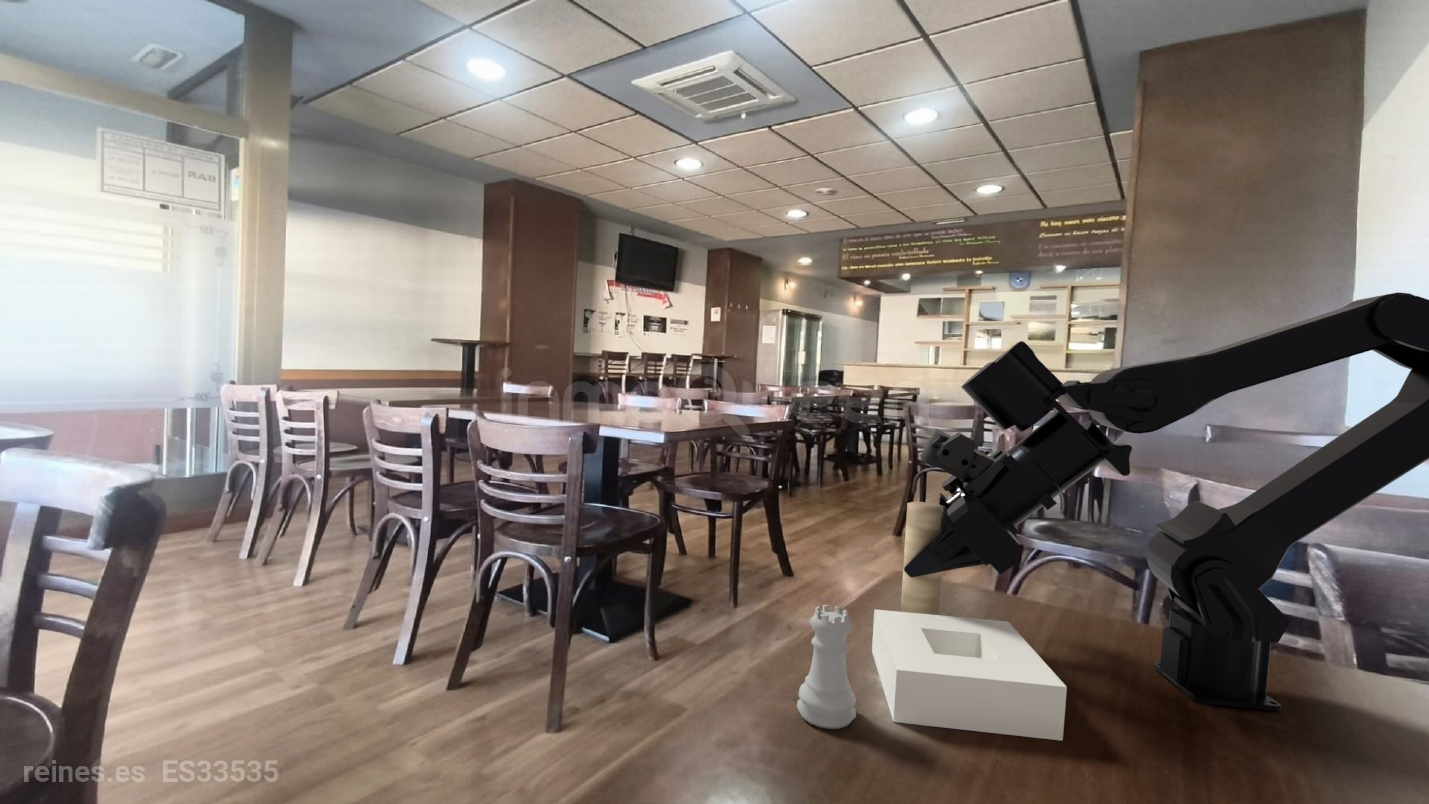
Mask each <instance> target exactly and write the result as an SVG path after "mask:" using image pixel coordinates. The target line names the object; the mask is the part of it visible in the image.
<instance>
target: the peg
mask: <svg viewBox="0 0 1429 804" xmlns="http://www.w3.org/2000/svg"><path fill="white" fill-rule="evenodd" d="M906 505H907V506H906V521H905V535H904V551H903V553H904V554H903V566H902V567H903V570H902V580H901V581H902V584H901V597H900V598H901V600H900V612H909V613H920V614H931V615H940V603H941V599H940V598H941V586H942V572H943V571H942V572H937V573H932V574H928V575H923V576H918V577H913V578H911V577H909V575H908V574H907V573H906V572H905V571H904V567H905V566H906V565H907V564H908V563H909V561H910V560H911V559H912V558H913V557H914V556H915V555H916V554H917V553H918V551H919V550H920V549H921V548H922V547H923V546H924V545H925V544H926V543H927V542H928V541H929V539H930V538H931V537H932V536H933V535H934V534H935V533H936V532H937V531H938V530H939V528H940V518H941V507H942V505H939V503H933V502H928V501H927V502H925V501H911V502H907V504H906ZM943 507H944V506H943ZM944 508H945V509H946V507H944Z"/></svg>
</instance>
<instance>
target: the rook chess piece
mask: <svg viewBox="0 0 1429 804" xmlns="http://www.w3.org/2000/svg"><path fill="white" fill-rule="evenodd" d="M842 608H843V607H840V606H838V605H835V606H834V610H833V611H832V610H830V609H831V608H830V604H822V607H821V606H819V605H818V606H816V607H815V609H814V614H813V616H812V617H811V618H810V619H809V625H810V627H811V628H812V629H813V631H814V636H813V637H812V638H811V644H812V646H813V653H812V660H811V665H810V669H809V671H808V675H806V676H805V678H804V682H803V683H802V684H801V685H800V687H799V690H798V694H797V696H798V697H799V699H798V700H797V702H796V703H797V704H796V708H797V710H798V712H799V713H800V715H801V717H802V718H803V720H805V722H808V723H809V724H810V725H813V726H815V727H817V728H821V729H826V730H840V729H843V728H845V727H848V726H849V725H850V723H851V722H852V721H853V720H854V719H855V718H856V717H857V712H856V709H855V706H856V705H857V703H856V701H857V700H856V696H855V694H856V693H854V691H853V690H852V688H851V683H850V682H849V680H848V679H849V678H848V675H847V664H846V663H847V662H846V655H847V654H846V651H847V650H848V649H849V648H850V646H849V645H850V644H849V643H848V641H847V636H848V635H849V634H850V632H852V631H853V629H854V625H853V623H852V621H851V620H850V617H849V616H850V615H849V614H850V613H849V610H847V609H843V610H842Z"/></svg>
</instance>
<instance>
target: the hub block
mask: <svg viewBox="0 0 1429 804" xmlns="http://www.w3.org/2000/svg"><path fill="white" fill-rule="evenodd" d="M872 627H873V628H872V640H871V641H872V642H871V643H872V644H871V652H872V657H873V660H874V663H875V666H876V670H877V672H878V673H877V674H878V676H879V679H880V682H881V683H880V684H881V685H882V689H883V692H884V694H885V699H886V702H887V705H888V708H889V712H890V715H891V718H892V722H893V723H901V724H908V725H909V724H910V725H917V726H927V727H936V728H946V729H955V730H961V731H962V730H963V731H974V732H981V733H991V734H998V735H1009V736H1016V737H1017V736H1019V737H1026V738H1036V739H1044V740H1046V739H1047V740H1054V741H1064V740H1063V739H1064V728H1065V717H1066V716H1065V715H1066V703H1067V689H1068V688H1067V685H1066V684H1065V683H1064V682H1063V681H1062V680H1061V679H1060V678H1059V676H1058V675H1057V674H1056V673H1055V672H1054V670H1052V669H1051V667H1049V665H1048V664H1047V663H1046V662H1045V661H1044V660H1043V659H1042V658H1041V656H1040V655H1039V654H1038V653H1037V652H1036V651H1035V649H1033V647H1032V646H1031V645H1030V644H1029V643H1028V642H1027V640H1026V639H1024V638H1023V637H1022V635H1021V634H1020V633H1019V632H1018V631H1017V629H1015V627H1014V626H1013V625H1012V624H1011V623H1010V621H1006V620H994V619H985V618H984V619H982V618H974V617H973V618H972V617H962V616H961V617H959V616H952V615H951V616H950V615H940V614H939V615H931V614H920V613H909V612H901V611H897V610H885V609H874V612H873V626H872Z"/></svg>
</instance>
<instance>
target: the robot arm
mask: <svg viewBox="0 0 1429 804" xmlns="http://www.w3.org/2000/svg"><path fill="white" fill-rule="evenodd" d="M1370 351H1373V352H1375V353H1377V354H1378V355H1379V356H1382V357H1383V358H1385V359H1388V360H1389V361H1391V362H1392V363H1395V364H1396V365H1398V366H1401V367H1402V368H1405V369H1409V370H1410V371H1409V373H1408V375H1407V377H1406V379H1405V380H1404V382H1403V384H1402V386H1401V388H1400V389H1399V392H1398V393H1397V395H1396V396H1395V397H1394V398H1393V399H1392V400H1391V401H1389V402H1388V403H1387V404H1385V405H1383V406H1382V407H1381V408H1379V409H1378V410H1375V412H1373V413H1372V414H1370V415H1368V416H1367V417H1366V418H1364V419H1363V420H1361V421H1359V422H1358V423H1357V424H1355V425H1353V426H1352V427H1351V428H1349V429H1348V430H1346V431H1345V432H1343V433H1342V434H1340V435H1339V436H1337V437H1335V438H1334V439H1332V440H1331V441H1329V442H1328V443H1327V444H1324V446H1322V447H1320V448H1318V450H1316V451H1314V452H1313V453H1310V454H1309V455H1308V456H1306V457H1305V458H1303V459H1302V460H1301V461H1299V462H1298V463H1297V464H1295V465H1293V466H1292V467H1291V468H1289V469H1287V470H1286V471H1284V472H1283V473H1281V474H1279V475H1278V476H1277V477H1275V478H1274V479H1272V480H1271V481H1269V482H1268V483H1266V484H1264V485H1263V486H1262V487H1260V488H1259V489H1257V490H1255V491H1253V492H1252V493H1251V494H1250V495H1247V497H1245V498H1244V499H1243V498H1242V500H1240V501H1238V502H1237V503H1235V504H1232V505H1229V506H1225V507H1221V508H1216V507H1214V506H1211V505H1209V504H1207V503H1204V502H1202V501H1199V500H1193V501H1192V502H1191V503H1189V504H1188V505H1186V506H1185V507H1184V508H1182V510H1181V511H1180V512H1179V513H1178V514H1176V516H1174V517H1172V518H1171V519H1168V520H1166V521H1164V522H1159V523H1157V524H1155V528H1157V529H1159V530H1160V531H1158V532H1157V533H1156V534H1154V535H1153V537H1151V539H1150V540H1149V541H1148V543H1147V546H1146V547H1147V548H1146V549H1147V551H1146V561H1147V565H1148V568H1149V570H1150V571H1151V573H1152V575H1154V577H1155V578H1157V579H1158V580H1159V581H1160V582H1162V583H1163V584H1164V585H1165V587H1166V590H1167V593H1168V598H1170V600H1171V601H1173V602H1175V603H1177V604H1178V605H1179V606H1180V608H1178V609H1174V608H1173V609H1171V608H1170V609H1169V618H1168V626H1167V625H1166V626H1164V628H1163V629H1162V640H1161V653H1160V662H1157V661H1156V662H1153V663H1154V664H1153V665H1154V666H1153V668H1154V669H1155V670H1156V671H1157V672H1158V673H1160V675H1162V676H1163V677H1164V678H1166V680H1168V681H1169V682H1171V683H1172V684H1173V685H1174V686H1176V687H1177V688H1179V689H1180V690H1181V691H1182V692H1184V694H1186V695H1187V696H1188V697H1189V698H1191V699H1192V700H1193V701H1195V702H1197V703H1201V704H1207V705H1216V706H1224V707H1225V706H1226V707H1235V708H1242V709H1243V708H1245V709H1252V710H1254V709H1256V710H1264V711H1265V710H1266V711H1274V712H1280V711H1281V710H1282V705H1281V703H1279V702H1278V701H1277V700H1275V699H1274V698H1272V697H1271V696H1269V695H1267V693H1268V691H1267V689H1268V682H1269V681H1268V680H1269V670H1270V659H1271V658H1270V657H1271V649H1272V647H1271V646H1272V644H1277V643H1279V642H1280V641H1281V639H1282V637H1283V635H1285V632H1286V631H1287V629H1288V627H1289V625H1290V624H1291V623H1290V622H1291V621H1290V619H1289V618H1288V617H1287V616H1286V615H1285V614H1284V613H1283V612H1282V611H1281V610H1280V608H1278V607H1277V606H1276V605H1275V604H1274V603H1273V602H1272V601H1271V600H1270V598H1268V597H1267V596H1266V595H1265V594H1264V593H1263V592H1262V591H1261V589H1263V587H1264V586H1266V585H1267V584H1268V582H1270V580H1272V579H1273V578H1274V576H1275V574H1276V572H1277V571H1278V569H1279V568H1280V565H1281V563H1282V561H1283V560H1284V558H1285V556H1286V554H1287V553H1288V551H1289V549H1290V548H1291V547H1292V546H1293V545H1295V544H1296V543H1298V542H1299V541H1300V540H1302V539H1304V538H1305V537H1307V536H1309V535H1310V534H1312V533H1313V532H1315V531H1317V530H1318V529H1320V528H1322V527H1323V526H1325V525H1326V524H1328V523H1330V522H1331V521H1332V520H1334V519H1336V518H1337V517H1339V516H1340V515H1342V514H1343V513H1345V512H1346V511H1348V510H1350V509H1352V508H1353V507H1355V506H1357V505H1358V504H1359V503H1361V502H1363V501H1364V500H1366V499H1368V498H1369V497H1371V496H1372V495H1374V494H1376V493H1377V492H1379V491H1380V490H1382V489H1383V488H1385V487H1386V486H1388V485H1390V484H1391V483H1393V482H1394V481H1396V480H1397V479H1400V478H1401V477H1402V476H1404V475H1406V474H1408V473H1409V472H1410V471H1413V470H1414V469H1416V468H1417V467H1418V466H1420V465H1421V464H1423V463H1425V462H1427V461H1428V460H1429V299H1427V298H1424V297H1421V296H1419V295H1414V294H1412V293H1410V292H1409V293H1407V292H1392V293H1387V294H1382V295H1376V296H1371V297H1366V298H1362V299H1361V298H1360V299H1356V300H1354V301H1352V302H1349V303H1348V304H1346V305H1345V306H1343V307H1341V308H1338V309H1334V310H1332V311H1328V312H1326V313H1323V314H1322V313H1321V314H1319V315H1316V316H1313V317H1311V318H1307V319H1304V320H1301V321H1297V322H1294V323H1291V324H1287V325H1285V326H1282V327H1278V328H1275V329H1273V330H1270V331H1267V332H1263V333H1260V334H1257V335H1253V336H1250V337H1248V338H1245V339H1242V340H1239V341H1236V342H1232V343H1229V344H1227V345H1223V346H1220V347H1217V348H1214V349H1210V350H1207V351H1204V352H1200V353H1199V354H1195V355H1188V356H1184V357H1178V358H1171V359H1164V360H1159V361H1151V362H1145V363H1138V364H1132V365H1128V366H1127V365H1126V366H1121V367H1115V368H1111V369H1107V370H1105V371H1103V372H1100V373H1098V374H1097V375H1096V376H1095V377H1094V378H1092V379H1091V381H1084V382H1081V381H1080V379H1079V380H1066V381H1065V382H1062V381H1061V380H1060V379H1059V378H1058V377H1057V375H1055V374H1053V372H1052V371H1051V370H1050V369H1049V368H1048V367H1047V366H1045V364H1044V363H1043V362H1042V361H1040V359H1039V358H1038V357H1037V356H1036V354H1035V352H1034V351H1033V349H1032V348H1031V347H1030V346H1029V345H1028V344H1027V343H1026V342H1025V341H1018V342H1016V343H1015V344H1014V345H1012V346H1011V347H1010V348H1009V349H1007V350H1006V351H1005V352H1003V353H1002V354H1001V355H999V356H998V357H997V358H996V359H994V360H993V361H990V362H987V363H986V364H985V365H984V366H982V368H980V369H979V370H977V372H975V373H974V374H973V375H972V376H971V377H969V379H967V381H965V382H964V383H963V384H962V385H961V386H960V388H961V389H962V390H963V391H964V392H965V393H966V394H967V395H968V396H969V397H970V398H971V399H972V400H973V401H974V402H975V403H976V404H977V405H978V406H979V408H981V409H982V411H983V412H984V413H986V415H987V416H988V417H989V418H990V419H991V420H992V421H993V422H994V423H995V425H997V426H998V427H999V429H1001V430H1002V431H1005V430H1008V429H1010V428H1011V427H1013V426H1015V429H1016V430H1017V431H1018V432H1019V433H1022V432H1025V431H1026V430H1028V429H1030V428H1032V427H1033V426H1035V424H1037V423H1038V422H1039V421H1041V420H1042V419H1043V418H1044V417H1046V415H1048V414H1049V413H1050V412H1051V411H1052V412H1053V413H1054V414H1053V415H1052V416H1050V417H1049V418H1048V419H1047V420H1045V421H1044V422H1042V423H1041V424H1040V425H1039V426H1038V427H1036V428H1035V429H1034V430H1033V431H1031V432H1029V434H1026V436H1025V437H1023V438H1022V439H1021V440H1020V441H1018V442H1017V443H1016V444H1015V445H1013V446H1012V447H1011V448H1009V449H1008V450H1006V449H1005V448H1004V449H1002V450H1001V449H998V450H996V451H995V452H993V453H992V454H991V455H988V454H986V453H984V452H982V451H980V450H978V449H976V448H975V447H976V446H975V444H976V443H975V440H974V438H970V437H968V436H967V435H964V434H963V433H961V432H957V433H955V434H954V435H950V434H948V433H946V432H944V431H942V430H939V429H937V428H936V429H935V430H934V432H933V433H932V435H931V437H930V439H929V440H928V441H927V443H926V445H925V447H924V449H923V451H922V452H921V454H920V460H921V461H922V462H923V463H925V464H927V465H929V466H930V467H932V468H938V469H940V470H941V471H942V470H943V471H944V472H946V473H948V474H950V475H951V476H950V477H948V478H946V480H944V481H943V482H941V487H942V489H943V490H944V491H945V492H947V491H948V493H950V495H949V496H948V497H946V496H945V495H944V494H943V493H942V492H940V493H939V494H938V504H939V505H942V507H941V518H940V528H939V530H938V531H937V532H936V533H935V534H934V535H933V536H932V537H931V538H930V539H929V541H928V542H927V543H926V544H925V545H924V546H923V547H922V548H921V549H920V550H919V551H918V553H917V554H916V555H915V556H914V557H913V558H912V559H911V560H910V561H909V563H908V564H907V565H906V566H905V567H904V571H905V572H906V573H907V574H908V575H909V577H911V578H913V577H918V576H923V575H928V574H932V573H937V572H948V571H952V570H957V569H963V568H969V567H976V566H981V565H982V566H983V565H984V566H989V565H991V566H992V568H994V570H995V571H996V572H997V573H999V574H1000V575H1002V574H1004V573H1006V572H1007V571H1008V570H1009V569H1011V568H1012V567H1013V566H1015V565H1016V564H1018V563H1019V562H1020V558H1021V557H1020V555H1021V545H1020V543H1019V541H1018V540H1017V538H1016V536H1015V535H1016V534H1018V533H1019V532H1020V531H1019V529H1018V528H1017V526H1019V524H1021V523H1022V522H1024V521H1025V520H1026V519H1028V518H1029V517H1030V516H1032V515H1033V514H1034V513H1036V512H1038V510H1040V509H1041V508H1043V507H1044V508H1045V509H1046V511H1049V510H1050V509H1052V508H1053V507H1054V506H1056V505H1057V504H1058V503H1057V501H1056V500H1055V498H1057V496H1059V495H1060V494H1061V493H1063V492H1064V491H1066V490H1067V489H1068V488H1070V487H1071V486H1072V485H1073V484H1075V483H1076V482H1078V481H1080V479H1082V478H1084V477H1085V476H1086V475H1088V473H1090V472H1091V471H1093V470H1094V469H1095V468H1096V467H1098V466H1100V465H1101V464H1102V463H1104V464H1105V465H1106V466H1107V467H1108V468H1109V469H1110V471H1112V472H1114V473H1116V474H1118V475H1120V476H1123V477H1128V476H1129V475H1130V474H1131V463H1130V457H1131V452H1132V450H1133V447H1132V445H1130V444H1127V443H1124V442H1119V443H1115V442H1114V441H1113V440H1112V439H1111V438H1110V437H1109V436H1108V435H1107V434H1106V433H1105V432H1104V431H1102V429H1101V428H1100V427H1099V426H1098V425H1097V424H1096V423H1095V422H1094V421H1092V420H1090V419H1089V420H1085V421H1083V422H1079V421H1078V420H1077V419H1076V418H1075V417H1073V416H1072V414H1070V413H1069V412H1068V411H1067V410H1066V408H1064V407H1063V406H1067V407H1070V408H1071V407H1072V408H1074V409H1080V410H1084V411H1088V412H1089V414H1090V416H1091V417H1092V419H1094V420H1095V421H1096V422H1097V423H1098V424H1100V425H1103V426H1105V427H1107V428H1110V429H1113V430H1118V431H1122V432H1126V433H1131V434H1148V433H1154V432H1156V431H1158V430H1160V429H1163V428H1165V427H1167V426H1169V425H1171V424H1173V423H1176V422H1178V421H1180V420H1182V419H1184V418H1186V417H1188V416H1190V415H1193V414H1194V413H1196V412H1197V411H1199V410H1201V409H1203V407H1205V406H1207V405H1208V404H1210V403H1212V402H1213V401H1215V400H1216V399H1219V398H1222V397H1223V396H1226V395H1228V394H1231V393H1234V392H1237V391H1240V390H1243V389H1246V388H1250V387H1252V386H1253V387H1254V386H1257V385H1260V384H1263V383H1267V382H1269V381H1274V380H1277V379H1279V378H1283V377H1287V376H1290V375H1292V374H1293V375H1294V374H1296V373H1301V372H1304V371H1306V370H1310V369H1313V368H1316V367H1320V366H1323V365H1326V364H1330V363H1334V362H1336V361H1340V360H1343V359H1346V358H1350V357H1353V356H1356V355H1360V354H1364V353H1367V352H1370ZM1062 405H1063V406H1062ZM943 506H944V507H946V509H945V508H944V507H943Z"/></svg>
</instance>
